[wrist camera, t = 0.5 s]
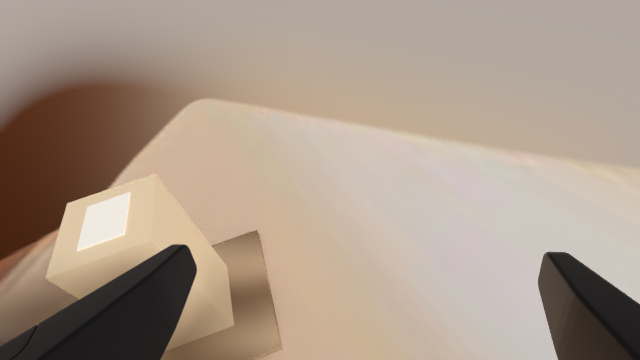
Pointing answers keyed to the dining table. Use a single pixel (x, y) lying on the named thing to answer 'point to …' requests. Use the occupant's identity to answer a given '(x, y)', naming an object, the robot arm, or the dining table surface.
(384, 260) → the dining table surface
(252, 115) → the dining table surface
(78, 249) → the cream tall block
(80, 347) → the robot arm
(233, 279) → the base
